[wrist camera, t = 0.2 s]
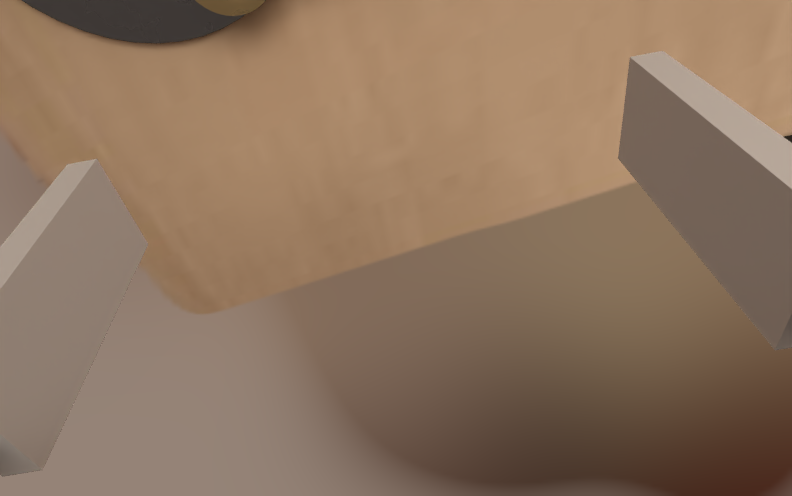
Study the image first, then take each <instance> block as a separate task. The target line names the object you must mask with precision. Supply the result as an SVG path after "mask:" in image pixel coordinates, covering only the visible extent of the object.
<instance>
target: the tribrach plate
mask: <svg viewBox="0 0 792 496" xmlns="http://www.w3.org/2000/svg"><path fill="white" fill-rule="evenodd" d="M22 1H24V2H25V3H27V4H28V5H30V6H31V7H33V8H35V9H37V10H39V11H41V12H43V13H45V14H47V15H48V16H50V17H52V18H54V19H56V20H58V21H61V22H63V23H65V24H68V25H70V26H73V27H75V28H78V29H80V30H83V31H86V32H89V33H93V34H96V35H100V36H103V37H107V38H111V39H117V40H123V41H129V42H139V43H167V42H178V41H184V40H188V39H193V38H197V37H201V36H204V35H207V34H209V33H212V32H214V31H217V30H220V29H222V28H224V27H226V26H228V25H229V24H231V23H233V22H234V21H236V20H238V19H240V18H241V17H243V16H244V15H245V14H244V15H240V16H226V15H221V14H218V13H215V12H212V11H210V10H208V9H206V8H205V7H203V6H202V5H200V4H199V3H198V2H196V1H195V0H22Z"/></svg>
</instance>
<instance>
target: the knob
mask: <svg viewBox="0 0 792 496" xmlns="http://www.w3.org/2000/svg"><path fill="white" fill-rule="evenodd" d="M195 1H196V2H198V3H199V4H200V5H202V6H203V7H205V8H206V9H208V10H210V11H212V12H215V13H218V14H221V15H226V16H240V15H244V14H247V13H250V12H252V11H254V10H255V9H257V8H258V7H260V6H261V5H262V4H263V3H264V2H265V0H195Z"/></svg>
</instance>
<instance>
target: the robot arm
mask: <svg viewBox="0 0 792 496" xmlns="http://www.w3.org/2000/svg"><path fill="white" fill-rule="evenodd" d="M618 159H619V160H620V161H621V163H622V164H623V165H624V166H625V167H626V169H627V170H628V171H629V172H630V174H631V175H632V176H633V177H634V178H635V180H636V181H637V182H638V183H639V185H640V186H641V187H642V188H643V189H644V191H645V192H646V193H647V194H648V196H649V197H650V198H651V199H652V200H653V201H654V203H655V204H656V205H657V207H658V208H659V209H660V210H661V211H662V213H663V214H664V215H665V216H666V218H667V219H668V220H669V221H670V222H671V224H672V225H673V226H674V227H675V229H676V230H677V231H678V232H679V233H680V235H681V236H682V237H683V238H684V240H685V241H686V242H687V243H688V244H689V246H690V247H691V248H692V249H693V251H694V252H695V253H696V254H697V256H698V257H699V258H700V259H701V260H702V262H703V263H704V264H705V265H706V266H707V267H708V269H709V270H710V271H711V273H712V274H713V275H714V276H715V278H716V279H717V280H718V281H719V282H720V284H721V285H722V286H723V287H724V288H725V290H726V291H727V292H728V293H729V295H730V296H731V297H732V298H733V300H734V301H735V302H736V303H737V304H738V306H739V307H740V308H741V309H742V311H743V312H744V313H745V314H746V315H747V317H748V318H749V319H750V320H751V321H752V323H753V324H754V325H755V326H756V327H757V329H758V330H759V331H760V332H761V334H762V335H763V336H764V337H765V339H766V340H767V341H768V342H769V343H770V345H771V346H772V347H773V348H774V350H779V349H786V348H792V135H790V136H785V137H783V136H781V135H780V134H779V133H777V132H776V131H774V130H773V129H772V128H770V127H769V126H767V125H766V124H765V123H763V122H762V121H760V120H759V119H758V118H756V117H755V116H753V115H752V114H751V113H749V112H748V111H746V110H745V109H744V108H742V107H741V106H739V105H738V104H737V103H735V102H734V101H732V100H731V99H730V98H728V97H727V96H725V95H724V94H723V93H721V92H720V91H718V90H717V89H715V88H714V87H713V86H711V85H710V84H708V83H707V82H706V81H704V80H703V79H701V78H700V77H699V76H697V75H696V74H694V73H693V72H692V71H690V70H689V69H687V68H686V67H685V66H683V65H682V64H680V63H679V62H678V61H676V60H675V59H673V58H672V57H671V56H669V55H668V54H666V53H665V52H664V51H659V52H654V53H649V54H644V55H638V56H633V57H630V62H629V70H628V79H627V87H626V96H625V104H624V113H623V121H622V130H621V138H620V147H619V156H618ZM147 246H148V243H147V241H146V239H145V238H144V236H143V234H142V233H141V231H140V229H139V228H138V226H137V224H136V223H135V221H134V219H133V218H132V216H131V214H130V213H129V211H128V209H127V208H126V206H125V204H124V203H123V201H122V199H121V198H120V196H119V195H118V193H117V191H116V190H115V188H114V186H113V185H112V183H111V181H110V180H109V178H108V176H107V175H106V173H105V171H104V170H103V168H102V166H101V165H100V163H99V161H98V160H97V159H93V160H88V161H83V162H77V163H72V164H67V165H66V167H65V168H64V169H63V170H62V172H61V173H60V174H59V175H58V177H57V178H56V179H55V180H54V181H53V183H52V184H51V185H50V186H49V188H48V189H47V190H46V191H45V193H44V194H43V195H42V196H41V197H40V199H39V200H38V201H37V202H36V204H35V205H34V206H33V207H32V208H31V210H30V211H29V212H28V214H27V215H26V216H25V217H24V218H23V220H22V221H21V222H20V223H19V224H18V226H17V227H16V228H15V229H14V230H13V232H12V233H11V234H10V235H9V237H8V238H7V239H6V240H5V242H4V243H3V244H2V245H1V247H0V475H1V476H9V475H15V474H21V473H28V472H34V471H40V470H43V468H44V466H45V464H46V462H47V460H48V457H49V455H50V453H51V451H52V449H53V447H54V444H55V442H56V440H57V438H58V436H59V434H60V432H61V430H62V427H63V425H64V423H65V421H66V419H67V417H68V415H69V412H70V410H71V408H72V406H73V404H74V402H75V400H76V398H77V395H78V393H79V391H80V389H81V387H82V385H83V383H84V380H85V378H86V376H87V374H88V372H89V370H90V368H91V366H92V363H93V361H94V359H95V357H96V355H97V353H98V350H99V348H100V346H101V344H102V342H103V340H104V338H105V335H106V333H107V331H108V329H109V327H110V325H111V322H112V321H113V318H114V316H115V314H116V312H117V310H118V308H119V306H120V304H121V301H122V299H123V297H124V295H125V293H126V291H127V289H128V286H129V284H130V282H131V280H132V278H133V276H134V274H135V272H136V269H137V267H138V265H139V263H140V261H141V259H142V257H143V254H144V252H145V250H146V248H147Z"/></svg>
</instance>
